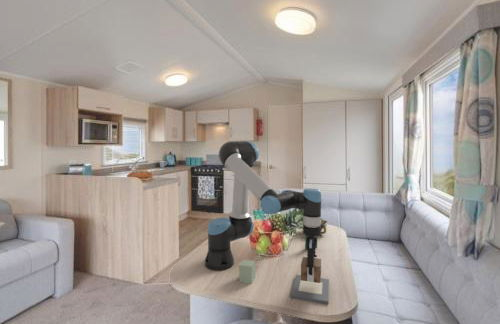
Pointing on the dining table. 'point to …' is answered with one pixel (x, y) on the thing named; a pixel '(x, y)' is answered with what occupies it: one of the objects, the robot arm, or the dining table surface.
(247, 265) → the sage brick
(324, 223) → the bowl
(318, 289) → the grey flat slab
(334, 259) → the dining table surface
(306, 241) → the coffee box
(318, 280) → the walnut block
